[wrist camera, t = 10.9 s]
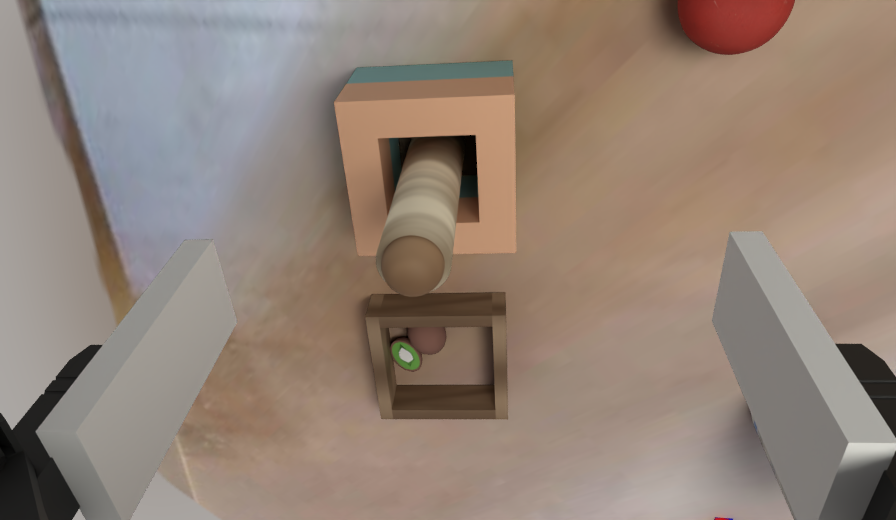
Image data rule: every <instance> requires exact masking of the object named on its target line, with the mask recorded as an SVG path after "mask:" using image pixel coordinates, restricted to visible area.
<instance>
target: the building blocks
mask: <svg viewBox="0 0 896 520" xmlns="http://www.w3.org/2000/svg"><path fill="white" fill-rule="evenodd" d="M714 520H733V519H730V518H717V517H715V519H714Z"/></svg>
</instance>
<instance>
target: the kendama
mask: <svg viewBox="0 0 896 520" xmlns="http://www.w3.org/2000/svg"><path fill="white" fill-rule="evenodd" d="M794 3H795V0H678V15H679V20H680V23H681V26H682V28H683V30H684V32H685V33H686V35H687V36H688V37H689V38H690V39H691V40H692V41H693V42H694V43H695V44H697V45H698V46H700V47H701V48H703V49H705V50H707V51H710V52H713V53H717V54H724V55H732V54H740V53H745V52H748V51H751V50H753V49H756V48H758V47H760V46H762V45H763V44H765V43H766V42H768V41H769V40H770V39H771V38H773V37H774V36H775V35H776V34H777V33H778V31H779V30H780V29H781V28H782V27H783V25H784V24H785V22H786V21H787V19H788V17H789V15H790V13H791V11H792V8H793V6H794Z"/></svg>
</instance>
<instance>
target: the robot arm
mask: <svg viewBox="0 0 896 520" xmlns="http://www.w3.org/2000/svg"><path fill="white" fill-rule="evenodd" d="M712 322H713V325H714V327H715V329H716V332H717V334H718V336H719V339H720V341H721V343H722V346H723V348H724V350H725V353H726V355H727V357H728V360H729V362H730V364H731V367H732V369H733V372H734V374H735V376H736V379H737V381H738V383H739V386H740V388H741V390H742V393H743V395H744V397H745V400H746V402H747V404H748V407H749V409H750V412H751V414H752V416H753V419H754V421H755V423H756V426H757V428H758V430H759V433H760V435H761V437H762V440H763V442H764V444H765V447H766V449H767V451H768V454H769V456H770V459H771V461H772V463H773V466H774V468H775V470H776V473H777V475H778V477H779V480H780V482H781V484H782V487H783V489H784V491H785V494H786V496H787V498H788V501H789V503H790V506H791V508H792V510H793V513H794V515H795V517H796V520H896V377H895V375H894V374H893V372H892V371H891V370H890V368H889V367H888V366H887V364H886V363H885V361H884V360H882V359H881V358H880V357H878V356H877V355H876V354H874V353H873V352H872V351H870V350H869V349H868V348H866V347H865V346H864V345H862V344H835V343H834V342H833V340H832V339H831V337H830V335H829V334H828V332H827V331H826V329H825V328H824V326H823V325H822V323H821V322H820V320H819V318H818V317H817V315H816V314H815V312H814V311H813V309H812V308H811V306H810V304H809V303H808V301H807V300H806V298H805V297H804V295H803V294H802V292H801V291H800V289H799V287H798V286H797V284H796V283H795V281H794V280H793V278H792V277H791V275H790V274H789V272H788V270H787V269H786V267H785V266H784V264H783V263H782V261H781V260H780V258H779V257H778V255H777V253H776V252H775V250H774V249H773V247H772V246H771V244H770V243H769V241H768V240H767V238H766V236H765V235H764V233H763V232H762V231H755V232H730V233H729V238H728V243H727V248H726V253H725V258H724V263H723V268H722V273H721V278H720V283H719V288H718V293H717V298H716V303H715V308H714V313H713V318H712ZM236 323H237V319H236V316H235V313H234V309H233V306H232V302H231V299H230V296H229V292H228V289H227V285H226V282H225V279H224V275H223V272H222V268H221V265H220V262H219V258H218V255H217V252H216V248H215V245H214V241H213V239H205V240H184V242H183V243H182V244H181V246H180V247H179V248H178V249H177V251H176V252H175V253H174V254H173V256H172V257H171V258H170V260H169V261H168V262H167V263H166V265H165V266H164V267H163V269H162V270H161V271H160V272H159V274H158V275H157V276H156V278H155V279H154V280H153V281H152V283H151V284H150V285H149V287H148V288H147V289H146V290H145V292H144V293H143V294H142V296H141V297H140V298H139V299H138V301H137V302H136V303H135V305H134V306H133V307H132V308H131V310H130V311H129V312H128V314H127V315H126V316H125V317H124V319H123V320H122V321H121V322H120V324H119V325H118V326H117V328H116V329H115V330H114V331H113V333H112V334H111V335H110V337H109V338H108V339H107V340H106V342H105V343H104V344H103V345H90V346H88V347H87V348H86V349H84V350H83V351H82V352H80V353H79V354H77V355H76V356H75V357H73V358H72V359H70V360H69V361H68V363H67V364H66V365H65V366H64V368H63V369H62V370H61V371H60V372H59V374H58V375H57V376H56V380H53V381H52V382H51V384H50V385H49V386H48V387H47V388H46V390H45V393H44V394H42V395H41V396H40V397H39V398H38V399H37V401H36V402H35V403H34V404H33V405H32V407H31V408H30V409H29V410H28V412H27V413H26V414H25V415H24V416H23V418H22V419H21V420H20V421H19V423H18V424H17V425H16V426H15V428H14V429H13V430H11V428H10V426H9V425H8V423H7V421H6V420H5V418H4V417H3V416H2V414H1V413H0V520H72V519H73V517H74V516H75V514H76V512H77V511H78V509H80V510H81V512H82V514H83V516H84V517H85V519H86V520H130V519H131V517H132V515H133V513H134V512H135V510H136V508H137V506H138V504H139V502H140V500H141V499H142V497H143V495H144V493H145V491H146V489H147V488H148V486H149V484H150V482H151V480H152V478H153V477H154V475H155V473H156V471H157V469H158V467H159V465H160V464H161V462H162V460H163V458H164V456H165V454H166V453H167V451H168V449H169V447H170V445H171V443H172V441H173V440H174V438H175V436H176V434H177V432H178V430H179V429H180V427H181V425H182V423H183V421H184V419H185V418H186V416H187V414H188V412H189V410H190V408H191V406H192V405H193V403H194V401H195V399H196V397H197V395H198V394H199V392H200V390H201V388H202V386H203V384H204V382H205V381H206V379H207V377H208V375H209V373H210V371H211V370H212V368H213V366H214V364H215V362H216V360H217V359H218V357H219V355H220V353H221V351H222V349H223V347H224V346H225V344H226V342H227V340H228V338H229V336H230V335H231V333H232V331H233V329H234V327H235V325H236Z"/></svg>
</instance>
